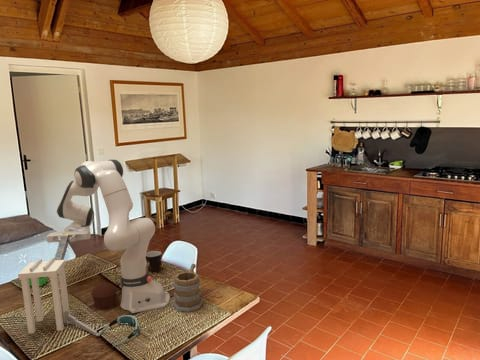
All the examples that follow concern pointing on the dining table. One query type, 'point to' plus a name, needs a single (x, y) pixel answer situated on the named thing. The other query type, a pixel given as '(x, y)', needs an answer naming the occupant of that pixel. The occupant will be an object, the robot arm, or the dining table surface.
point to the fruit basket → (41, 281)
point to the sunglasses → (124, 319)
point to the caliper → (77, 323)
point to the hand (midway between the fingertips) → (64, 240)
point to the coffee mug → (153, 261)
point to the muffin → (104, 295)
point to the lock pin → (62, 247)
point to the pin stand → (34, 272)
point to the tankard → (187, 291)
